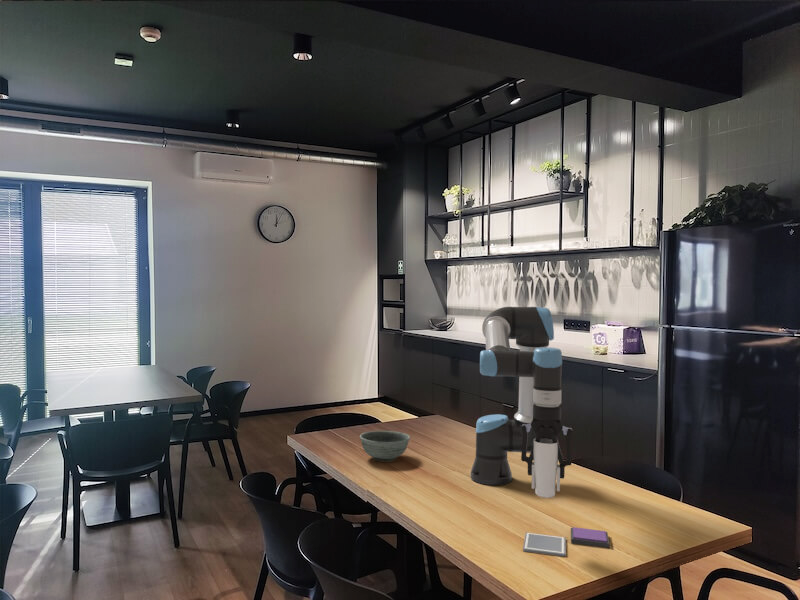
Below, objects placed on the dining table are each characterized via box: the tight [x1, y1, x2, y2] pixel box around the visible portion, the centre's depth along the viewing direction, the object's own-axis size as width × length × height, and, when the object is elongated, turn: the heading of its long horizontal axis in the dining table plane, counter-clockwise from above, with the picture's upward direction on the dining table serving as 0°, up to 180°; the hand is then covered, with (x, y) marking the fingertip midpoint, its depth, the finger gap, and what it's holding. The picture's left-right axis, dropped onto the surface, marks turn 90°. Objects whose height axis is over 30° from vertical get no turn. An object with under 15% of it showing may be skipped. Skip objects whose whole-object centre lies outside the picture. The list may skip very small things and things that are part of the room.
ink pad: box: [570, 527, 610, 549], centre depth 161 cm, size 10×8×2 cm
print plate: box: [522, 532, 567, 558], centre depth 157 cm, size 11×11×1 cm
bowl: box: [359, 430, 411, 463], centre depth 236 cm, size 21×21×10 cm
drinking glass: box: [533, 438, 559, 499], centre depth 157 cm, size 7×7×15 cm
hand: (545, 488), depth 157 cm, fingers closed on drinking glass, 6 cm apart
